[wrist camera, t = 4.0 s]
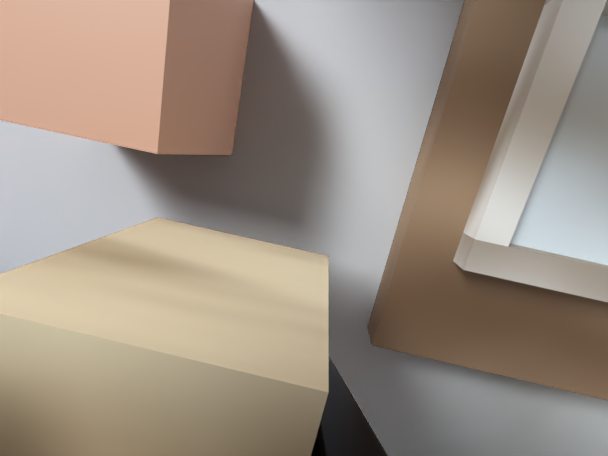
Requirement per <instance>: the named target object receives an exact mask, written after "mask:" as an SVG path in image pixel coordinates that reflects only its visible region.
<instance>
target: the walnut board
mask: <svg viewBox="0 0 608 456" xmlns="http://www.w3.org/2000/svg"><path fill="white" fill-rule="evenodd" d="M368 331H369V335H370V340H371V344H372V345H373V346H378V347H382V348H386V349H390V350H395V351H399V352H403V353H407V354H412V355H416V356H420V357H425V358H429V359H433V360H437V361H442V362H446V363H450V364H455V365H459V366H463V367H467V368H472V369H476V370H480V371H484V372H489V373H493V374H497V375H502V376H506V377H510V378H514V379H519V380H523V381H527V382H532V383H536V384H540V385H544V386H549V387H553V388H557V389H562V390H566V391H570V392H574V393H579V394H583V395H587V396H591V397H596V398H600V399H604V400H608V0H465V1H464V4H463V8H462V11H461V14H460V18H459V21H458V24H457V28H456V31H455V35H454V38H453V41H452V45H451V48H450V51H449V55H448V58H447V61H446V65H445V68H444V72H443V75H442V78H441V82H440V85H439V88H438V92H437V95H436V98H435V102H434V105H433V108H432V112H431V115H430V119H429V122H428V125H427V129H426V132H425V135H424V139H423V142H422V145H421V149H420V152H419V156H418V159H417V162H416V166H415V169H414V172H413V176H412V179H411V182H410V186H409V189H408V193H407V196H406V199H405V203H404V206H403V209H402V213H401V216H400V219H399V223H398V226H397V230H396V233H395V236H394V240H393V243H392V246H391V250H390V253H389V256H388V260H387V263H386V267H385V270H384V273H383V277H382V280H381V283H380V287H379V290H378V293H377V297H376V300H375V304H374V307H373V310H372V314H371V317H370V320H369V324H368Z"/></svg>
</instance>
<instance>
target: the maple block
mask: <svg viewBox="0 0 608 456" xmlns="http://www.w3.org/2000/svg"><path fill="white" fill-rule="evenodd" d="M328 393H329V256H326V255H321V254H317V253H312V252H308V251H304V250H299V249H295V248H290V247H286V246H282V245H277V244H273V243H268V242H264V241H260V240H255V239H251V238H246V237H242V236H238V235H233V234H229V233H224V232H220V231H216V230H211V229H207V228H202V227H198V226H194V225H189V224H185V223H180V222H176V221H171V220H167V219H163V218H158V217H157V218H154V219H152V220H149V221H146V222H143V223H140V224H138V225H135V226H132V227H129V228H127V229H124V230H121V231H118V232H115V233H113V234H110V235H107V236H104V237H102V238H99V239H96V240H93V241H90V242H88V243H85V244H82V245H79V246H76V247H74V248H71V249H68V250H65V251H63V252H60V253H57V254H54V255H51V256H49V257H46V258H43V259H40V260H37V261H35V262H32V263H29V264H26V265H24V266H21V267H18V268H15V269H12V270H10V271H7V272H4V273H1V274H0V456H311V454H312V450H313V446H314V443H315V439H316V436H317V432H318V428H319V425H320V421H321V418H322V414H323V410H324V407H325V403H326V400H327V396H328Z"/></svg>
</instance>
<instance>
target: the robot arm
mask: <svg viewBox="0 0 608 456" xmlns="http://www.w3.org/2000/svg"><path fill="white" fill-rule="evenodd" d="M311 456H388V455H387V454H386V452H385V450H384V449H383V447H382V445H381V444H380V442H379V440H378V439H377V437H376V435H375V433H374V432H373V430H372V428H371V427H370V425H369V423H368V422H367V420H366V418H365V417H364V415H363V413H362V411H361V410H360V408H359V406H358V405H357V403H356V401H355V400H354V398H353V396H352V395H351V393H350V391H349V389H348V388H347V386H346V384H345V383H344V381H343V379H342V378H341V376H340V374H339V373H338V371H337V369H336V367H335V366H334V364H333V362H332V361H331V359H330V357H329V393H328V396H327V400H326V403H325V407H324V410H323V414H322V418H321V421H320V425H319V428H318V432H317V436H316V439H315V443H314V446H313V450H312V454H311Z"/></svg>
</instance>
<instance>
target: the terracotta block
mask: <svg viewBox="0 0 608 456" xmlns="http://www.w3.org/2000/svg"><path fill="white" fill-rule="evenodd" d="M253 3H254V0H0V120H2V121H7V122H11V123H16V124H21V125H25V126H30V127H34V128H39V129H44V130H48V131H53V132H57V133H62V134H67V135H71V136H76V137H81V138H85V139H90V140H94V141H99V142H104V143H108V144H113V145H118V146H122V147H127V148H131V149H136V150H141V151H145V152H150V153H155V154H186V155H232V151H233V144H234V137H235V130H236V123H237V116H238V109H239V102H240V95H241V88H242V81H243V74H244V67H245V60H246V52H247V45H248V38H249V31H250V24H251V17H252V10H253Z"/></svg>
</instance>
